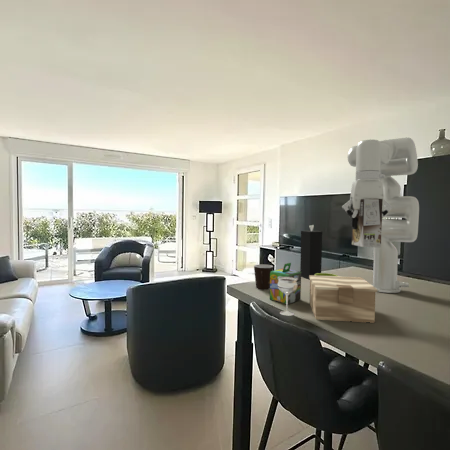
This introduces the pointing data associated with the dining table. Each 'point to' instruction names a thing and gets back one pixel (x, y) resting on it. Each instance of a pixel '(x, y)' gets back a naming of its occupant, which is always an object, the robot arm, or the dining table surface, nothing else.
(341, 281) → the lid
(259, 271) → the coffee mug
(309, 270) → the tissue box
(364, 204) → the coffee box
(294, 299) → the chalk box
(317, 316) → the box
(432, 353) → the dining table surface
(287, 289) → the wineglass
